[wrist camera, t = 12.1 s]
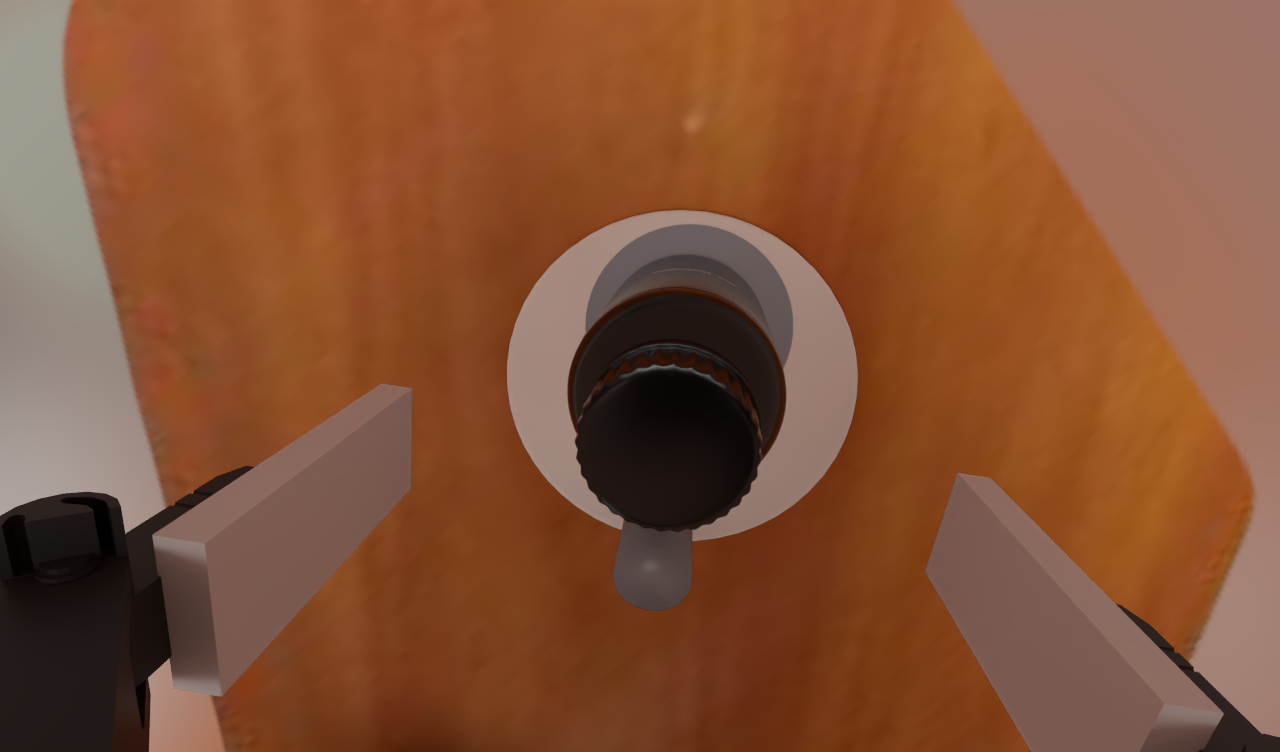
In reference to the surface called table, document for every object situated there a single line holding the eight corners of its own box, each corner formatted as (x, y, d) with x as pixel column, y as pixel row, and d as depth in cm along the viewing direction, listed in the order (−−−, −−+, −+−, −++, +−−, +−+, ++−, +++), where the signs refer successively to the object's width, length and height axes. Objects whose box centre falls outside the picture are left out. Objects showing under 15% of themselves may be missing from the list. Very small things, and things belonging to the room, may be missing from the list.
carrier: (809, 552, 31) (844, 675, 24) (503, 502, 32) (443, 606, 24) (893, 237, 26) (972, 266, 18) (524, 185, 27) (455, 193, 19)
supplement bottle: (721, 221, 25) (740, 268, 14) (788, 364, 27) (855, 512, 15) (577, 296, 27) (486, 393, 15) (649, 427, 28) (616, 602, 17)
